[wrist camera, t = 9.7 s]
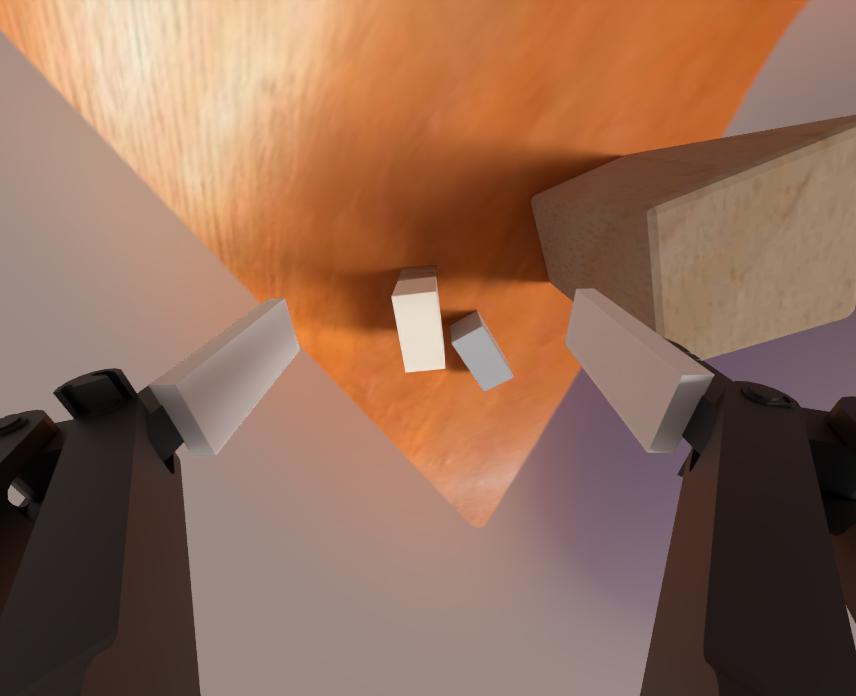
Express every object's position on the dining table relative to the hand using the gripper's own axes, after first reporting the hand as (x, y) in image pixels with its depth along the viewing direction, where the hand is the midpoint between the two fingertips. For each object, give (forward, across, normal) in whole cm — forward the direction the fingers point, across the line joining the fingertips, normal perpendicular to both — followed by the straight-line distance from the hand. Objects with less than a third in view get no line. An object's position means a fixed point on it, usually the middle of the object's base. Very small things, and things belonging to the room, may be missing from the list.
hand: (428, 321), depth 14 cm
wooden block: (+23, +16, +1) cm, 28 cm away
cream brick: (+18, -2, -7) cm, 19 cm away
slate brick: (+22, +5, -13) cm, 27 cm away
